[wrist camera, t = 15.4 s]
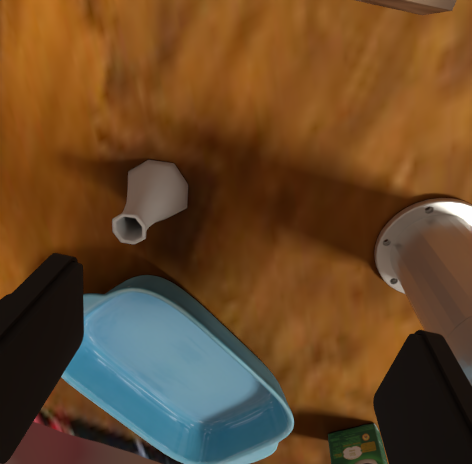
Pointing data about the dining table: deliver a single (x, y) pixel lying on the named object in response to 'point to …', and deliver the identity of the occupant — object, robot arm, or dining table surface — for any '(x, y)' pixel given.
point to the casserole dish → (177, 375)
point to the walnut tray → (416, 5)
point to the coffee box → (357, 446)
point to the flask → (150, 199)
